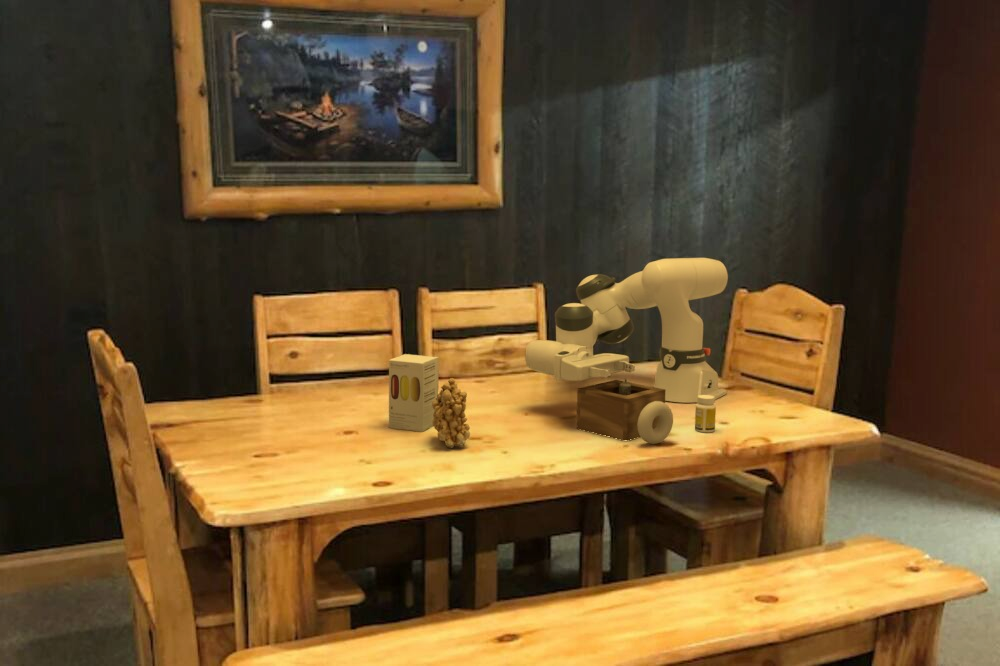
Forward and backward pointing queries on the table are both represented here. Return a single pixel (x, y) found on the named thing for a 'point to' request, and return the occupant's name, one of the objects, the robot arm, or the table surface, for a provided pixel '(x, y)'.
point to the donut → (647, 419)
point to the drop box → (614, 408)
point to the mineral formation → (451, 415)
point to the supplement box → (412, 391)
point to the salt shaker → (625, 388)
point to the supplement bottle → (705, 414)
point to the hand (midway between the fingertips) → (621, 371)
